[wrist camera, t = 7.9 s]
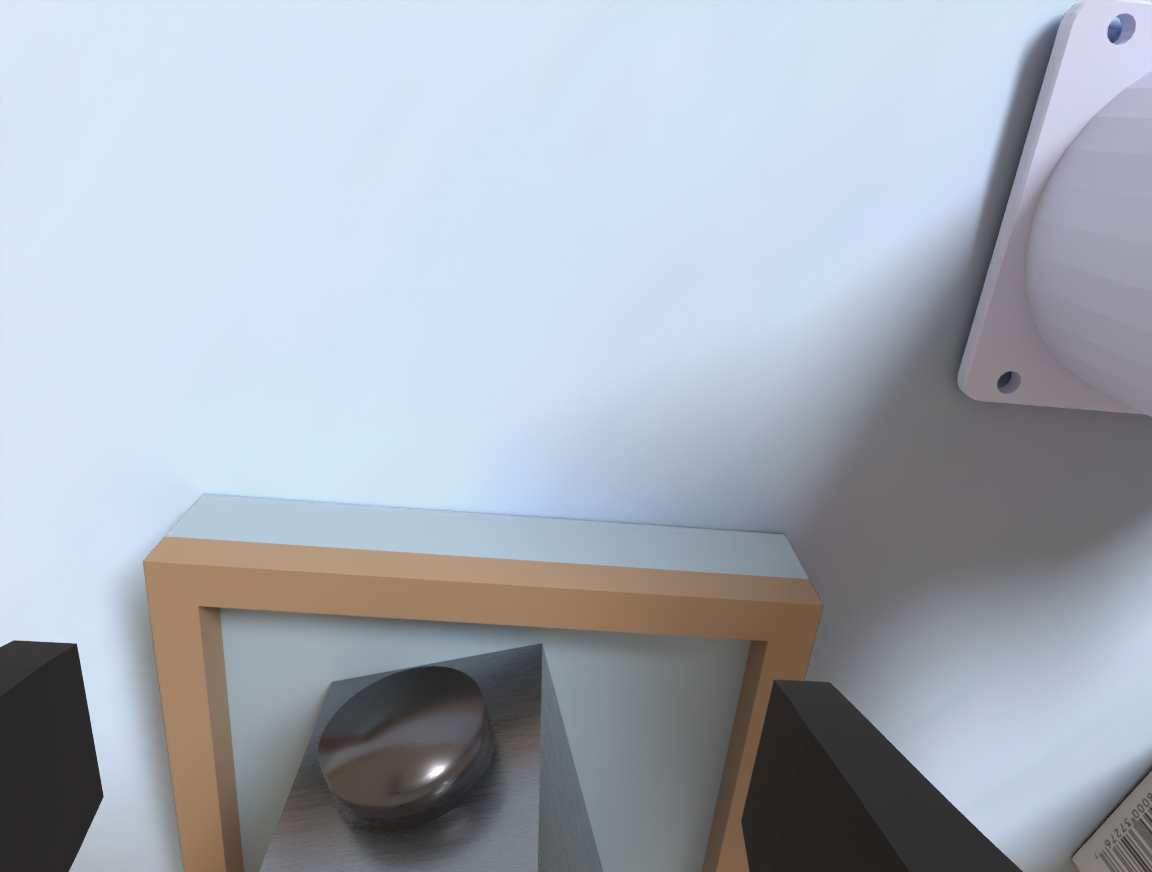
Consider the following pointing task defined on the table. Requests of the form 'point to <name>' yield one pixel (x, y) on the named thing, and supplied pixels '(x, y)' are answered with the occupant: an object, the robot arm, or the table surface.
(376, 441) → the table surface
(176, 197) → the table surface
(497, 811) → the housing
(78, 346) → the table surface
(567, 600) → the square tray
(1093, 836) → the coffee box
